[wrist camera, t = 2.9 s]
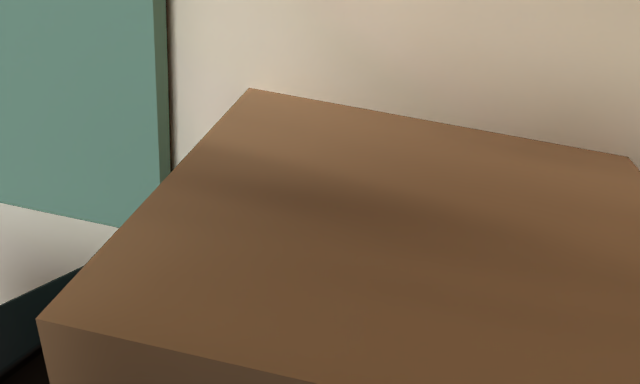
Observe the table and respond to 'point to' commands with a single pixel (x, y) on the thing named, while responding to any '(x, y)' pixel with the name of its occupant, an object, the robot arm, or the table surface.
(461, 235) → the walnut block
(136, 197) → the green flat square panel
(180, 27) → the table surface
